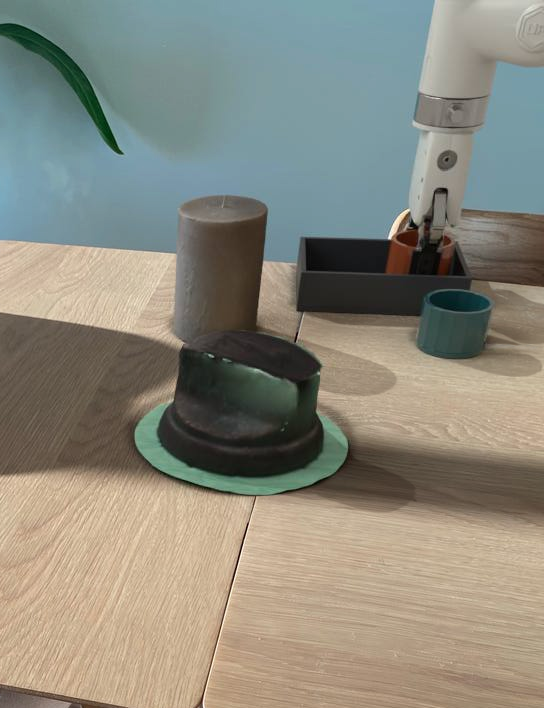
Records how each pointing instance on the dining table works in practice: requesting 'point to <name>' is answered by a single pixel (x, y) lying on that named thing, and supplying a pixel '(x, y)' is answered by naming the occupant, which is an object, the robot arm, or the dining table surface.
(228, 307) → the pillar candle
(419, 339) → the teal cup
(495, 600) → the dining table surface
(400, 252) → the orange cup
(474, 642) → the dining table surface
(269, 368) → the dark hat
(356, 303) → the tub
